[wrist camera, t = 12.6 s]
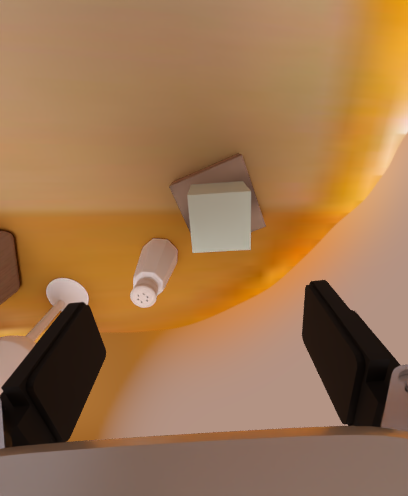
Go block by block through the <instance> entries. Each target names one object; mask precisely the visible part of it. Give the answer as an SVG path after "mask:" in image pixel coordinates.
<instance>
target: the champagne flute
mask: <svg viewBox="0 0 408 496" xmlns="http://www.w3.org/2000/svg"><path fill="white" fill-rule="evenodd" d="M46 295H47V298H48V300H49V301H50V303H51V304H52V305H53V307H52V308H51V309H50V310H49V311H48V312H47V314H46V315H45V316H44V317H43V318H42V319H41V320H40V321H39V322H38V323H37V324H36V326H35V327H34V328H33V329H32V330H31V331H30V332H29V333H28V334H27V335H26V336H4V337H0V395H1V394H2V392H3V390H2V389H1V387H2V386H3V385H4V383H5V382H6V381H7V380H8V378H9V377H10V376H11V375H12V373H13V372H14V371H15V370H16V368H17V367H18V366H19V365H20V363H21V362H22V361H23V360H24V358H25V357H26V356H27V355H28V353H29V352H30V351H31V350H32V348H33V347H34V346H35V345H36V344H35V342H34V341H35V340H36V338H37V337H38V336H39V335H40V334H41V333H42V331H43V330H44V329H45V328H46V327H47V326H48V324H49V323H50V322H51V321H52V320H53V318H54V317H55V316H56V315H57V314H58V313H59V311H60V310H61V311H63V310H64V308H65V307H66V306H67V305H68V304H69V303H76V302H84V303H85V304H86V305H88V301H89V297H88V294H87V292H86V290H85V289H84V287H83V286H82V285H80V284H79V283H78V282H76V281H74V280H71V279H67V278H59V279H55V280H53V281H51V282H50V283H49V284H48V286H47V289H46Z"/></svg>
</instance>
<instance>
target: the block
mask: <svg viewBox="0 0 408 496" xmlns="http://www.w3.org/2000/svg"><path fill="white" fill-rule="evenodd" d="M19 286H20V281H19V273H18V266H17V259H16V251H15V244H14V237H13V236H12V234H11V233H9V232H5V231H0V305H1V304H2V303H3V302H4V301H6V300H7V299H8V298H9V297H11V296H12V295H13V294H14V293H16V292H17V291H18V289H19Z"/></svg>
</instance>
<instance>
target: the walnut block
mask: <svg viewBox="0 0 408 496" xmlns="http://www.w3.org/2000/svg"><path fill="white" fill-rule="evenodd" d="M236 181H243V182H244V183H245V184H246V186H247V187H248V188H249V189H250V190H251V232H252V231H255V230H258V229H260V228H263V227H266V225H265V222H264V219H263V216H262V213H261V210H260V207H259V204H258V201H257V198H256V195H255V192H254V189H253V186H252V183H251V180H250V177H249V174H248V171H247V168H246V165H245V162H244V159H243V156H242V155H241V154H239V153H238V154H236V155H234V156H231V157H229V158H227V159H224V160H222V161H220V162H217V163H215V164H213V165H211V166H208V167H206V168H204V169H201V170H199V171H197V172H194V173H192V174H190V175H187V176H185V177H183V178H181V179H178V180H176V181H174V182H172V184H171V185H170V186H169V188H170V190H171V192H172V194H173V196H174V198H175V200H176V203H177V205H178V207H179V209H180V211H181V213H182V215H183V218H184V220H185V222H186V224H187V226H188V228H189V230H190V220H189V209H188V199H187V194H188V192H189V189H190V186H191V185H192V184H207V183H221V182H236ZM190 233H191V230H190Z"/></svg>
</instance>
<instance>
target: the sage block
mask: <svg viewBox="0 0 408 496" xmlns="http://www.w3.org/2000/svg"><path fill="white" fill-rule="evenodd" d="M187 199H188V209H189V220H190V230H191V241H192V251H193V253H200V252H218V251H235V250H251V190H250V189H249V188H248V187H247V186H246V184H245V183H244V182H243V181H236V182H221V183H207V184H192V185H191V186H190V189H189V192H188V194H187Z"/></svg>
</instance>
